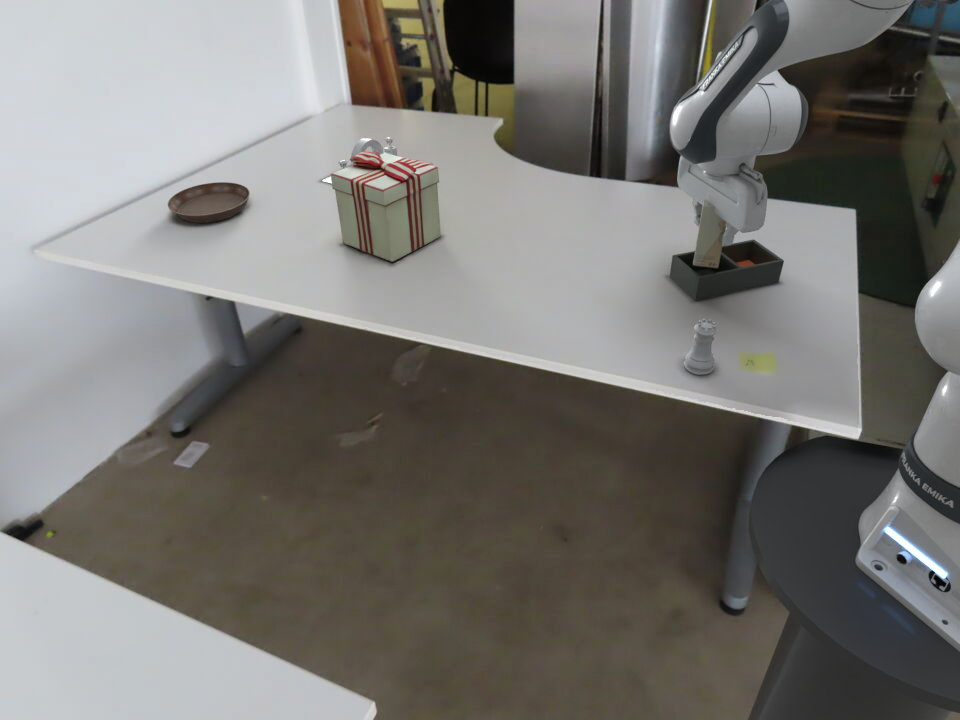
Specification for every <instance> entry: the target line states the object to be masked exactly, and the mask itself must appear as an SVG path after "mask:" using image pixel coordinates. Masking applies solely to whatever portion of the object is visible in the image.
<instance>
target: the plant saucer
mask: <svg viewBox="0 0 960 720" xmlns="http://www.w3.org/2000/svg"><path fill="white" fill-rule="evenodd" d="M250 195H251V192H250V190H249V189H248V187H247V186H245V185H242V184H239V183H236V182H229V181H227V182H225V181H222V182H221V181H219V182H207V183H202V184H198V185H193V186H190V187H188V188H184V189H183V190H180V191H178V192H177V193H175V194H174V195H172V196H171V197H170V198H169V200H168V201H167V207H168V209H169V210H170V212H172V213H173V214H174V215H176V216H177V217H179V218H180V219H182V220H184V221H187V222H191V223H197V224H198V223H201V224H202V223H213V222H218V221H223V220H226V219H230V218H231V217H233V216H235V215H237V214H239V213H240V212H241V211H243V209H244V207H245V206H246V205H247V203H248V201H249V199H250Z"/></svg>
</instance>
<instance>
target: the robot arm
mask: <svg viewBox="0 0 960 720" xmlns="http://www.w3.org/2000/svg"><path fill="white" fill-rule="evenodd" d="M914 1H915V2H916V1H918V2H931V3H937V4H941V5H953V4H956V3H957V2H959V0H768V1H766V2H765V3H764V4H763V5H761V6H760V7H759V8H757V9H756V10H755V12H753V13H752V15H750V16H749V18H747V20H746V21H745V22H744V24H742V26H741V27H740V29H738V31H737V32H736V33H735V35H734V36H733V38H731V40H730V41H729V42H728V44H727V45H726V46H725V47H724V48H723V49H722V50H720V51H719V52H718V53H717V55H716V58H715V60H714V62H713V63H712V65H710V67H709V68H708V70H707V71H706V73H704V75H703V76H702V77H701V78H700V80H699V81H698V82H697V83H696V84H695V85H693V86H692V87H691V88H689V89H688V90H687V91H686V92H685V93H684V94H683V95H681V97H680V98H679V100H678V101H677V102H676V104H675V106H674V107H673V110H672V112H671V115H670V119H669V126H668V127H669V140H670V143H671V146H672V148H673V149H674V150H675V151H676V152H677V153H678V154H679V155H680V157H679V162H678V167H677V178H676V180H677V185H678V189H679V190H680V191H681V192H683V193H684V194H686V195H687V196H689V197H690V198H692V201H691V202H692V208H693V212H694V218H693V223H694V224H695V225H696V226H698V227H699V224H700V218H701V213H702V207H703V202H704V200H706V201H707V202H709V203H710V204H712V205H713V206H714V207H715V214H716V215H717V216H719V217H720V218H722V219H723V220H724V221H726V224H725V226H726V230H725V232H723V233H720V238H719V242H720V243H722V244H723V245H724V246H727V245H731V244H733V243H734V239H735V236H736V235H737V234H738V233H739V232H740V233H743V234H745V233H751V232H757V231H759V230H760V229H761V228H762V227H764V225H765V221H766V214H767V207H768V195H769V194H768V187H767V183H766V182H765V179H764V175H763V174H762V173H761V172H759V171H758V170H755V169H754V167H755V163H756V160H757V159H756V158H757V156H767V155H776V154H781V153H783V152H788V151H790V150H791V149H792V148H793V147H794V146H796V145H797V143H798V142H799V141H800V140H801V138H802V136H803V134H804V132H805V130H806V127H807V123H808V118H809V103H808V100H807V99H806V97H805V95H804V94H803V92H802V91H801V90H800V89H799V88H798V87H797V86H796V85H794V84H791V83H788V81H786V79H785V78H784V77H783V75H781V74H780V72H779V71H778V70H780V69H783V68H785V67H788V66H791V65H795V64H798V63H801V62H805V61H809V60H812V59H817V58H822V57H826V56H830V55H834V54H839V53H844V52H848V51H851V50H855V49H857V48H861V47H863V46H865V45H867V44H868V43H870V42H872V41H873V40H875V39H876V38H877V37H878V36H880V35H882V34H883V33H884V32H885V31H887V30H888V29H889V28H891V26H893V25H894V24H895V23H896V22H897V21H898V20H899V19H900V18H901V17H902V16H903V15H904V13H905V12H906V11H907V10H908V8H909V7H910V6H911V5H912V3H913V2H914ZM723 245H722V246H723ZM914 324H915V329H916V334H917V336H918V339H919V341H920V343H921V345H922V347H923V348H924V350H925V352H926V353H927V354H928V356H930V358H931V359H932V360H933V361H934V362H935V363H937V365H938V366H939V367H941V368H943V369H945V370H946V371H947V372H946V373H944V376H943V377H942V378H941V379H940V381H939V382H938V384H937V386H936V388H935V391H934V393H933V395H932V397H931V399H930V401H929V403H928V406H927V408H926V411H925V413H924V414H923V417H922V420H921V421H920V424H919V425H918V426H917V428H915V429H913V431H912V432H911V433H910V435H909V437H908V439H907V441H906V443H905V445H904V447H903V448H902V449H903V451H902V453H901V456H900V458H899V463H898V465H899V468H898V470H897V472H896V473H895V475H894V476H893V478H892V480H891V481H890V483H889V484H888V485H887V487H886V488H885V489H884V491H883V492H882V493H881V495H880V496H879V497H878V498H877V499H876V500H875V501H874V502H873V503H872V504H871V505H869V506H868V507H867V508H866V509H865V510H864V511H863V513H862V514H861V517H860V519H859V527H858V529H859V536H860V542H861V546H860V548H859V550H858V552H857V555H856V559H855V562H856V565H857V566H858V567H859V568H860V569H861V570H862V571H863V572H864V573H865V574H867V575H868V576H869V577H870V578H871V579H873V580H874V581H875V582H876V583H877V584H879V585H880V586H881V587H882V588H883V589H885V590H886V591H887V592H888V593H889V594H891V595H892V596H893V597H894V598H895V599H897V600H898V601H899V602H900V603H901V604H903V605H904V606H905V607H906V608H907V609H909V610H910V611H911V612H912V613H913V614H915V615H916V616H917V617H918V618H919V619H921V620H922V621H923V622H924V623H926V624H927V625H928V626H929V627H930V628H932V629H933V630H934V631H935V632H936V633H938V634H939V635H940V636H941V637H942V638H944V639H945V640H946V641H947V642H948V643H950V644H951V645H952V646H953V647H954V648H956V649H957V650H958V651H959V652H960V238H959V239H958V241H957V243H956V245H955V247H954V248H953V250H952V252H951V254H950V255H949V257H948V259H947V260H946V261H945V262H944V264H943V265H942V266H941V268H940V269H939V270H938V271H937V272H936V273H935V275H933V277H932V278H931V279H929V281H928V282H926V284H925V285H924V286H923V288H922V289H921V291H920V293H919V295H918V297H917V300H916V304H915V310H914ZM875 568H876V569H878V570H880V571H878V570H876V569H875Z"/></svg>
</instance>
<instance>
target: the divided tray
mask: <svg viewBox="0 0 960 720" xmlns="http://www.w3.org/2000/svg"><path fill="white" fill-rule="evenodd" d="M694 255H695V250H692V251H688V252H683V253H678V254H672V256H671V262H670V269H669V279H671V280H672V281H673V282H674V283H675V284H676V285H677V286H678V287H679V288H680V289H681V290H682V291H684V293H686V294H687V295H688V296H689V297H690V298H691V299H692V300H693V301H701V300H705V299H711V298H714V297H719V296H724V295H729V294H733V293H738V292H743V291H747V290H752V289H757V288H761V287H766V286H770V285H774V284H775V285H777V284H779V283H780V279H781V275H782V271H783V267H784V262H785V260H784V259H782V258H781V257H780V256H778V255H777V254H776V253H774V252H773V251H771V250H770V249H768V248H767V247H765V246H764V245H762V243H760V242H758V241H757V240H756V239H748V240H744V241H739V242H733V243H732V244H731V245H727V246H724V245H722V251H721V256H720V261H719V266H718V268H711V267H703V266H695V265H693V261H694Z"/></svg>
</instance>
